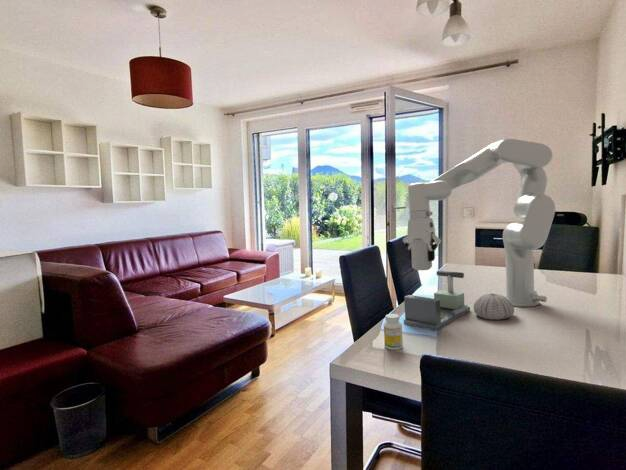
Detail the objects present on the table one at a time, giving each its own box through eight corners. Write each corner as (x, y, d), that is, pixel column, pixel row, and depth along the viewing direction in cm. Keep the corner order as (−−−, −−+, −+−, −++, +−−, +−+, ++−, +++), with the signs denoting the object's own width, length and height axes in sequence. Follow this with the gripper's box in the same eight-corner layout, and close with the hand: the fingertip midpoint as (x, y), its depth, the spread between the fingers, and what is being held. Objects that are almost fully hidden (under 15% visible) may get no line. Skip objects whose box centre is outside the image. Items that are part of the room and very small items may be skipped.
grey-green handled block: (465, 305, 139) (464, 272, 137) (458, 309, 134) (457, 275, 133) (441, 302, 146) (439, 269, 145) (433, 305, 142) (431, 272, 141)
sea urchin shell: (474, 321, 128) (473, 298, 127) (472, 309, 140) (472, 289, 140) (517, 323, 123) (516, 299, 122) (512, 311, 135) (511, 289, 135)
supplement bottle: (397, 351, 107) (396, 319, 106) (381, 348, 110) (379, 316, 110) (406, 345, 111) (404, 314, 110) (390, 342, 115) (388, 312, 114)
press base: (470, 310, 139) (469, 286, 138) (435, 330, 121) (433, 302, 120) (440, 305, 148) (439, 282, 147) (403, 323, 130) (402, 297, 129)
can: (412, 270, 141) (410, 239, 140) (411, 267, 148) (410, 237, 147) (432, 270, 139) (431, 239, 138) (431, 266, 146) (430, 237, 145)
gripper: (445, 213, 138) (447, 260, 139) (406, 214, 151) (408, 257, 152) (434, 215, 133) (437, 263, 134) (395, 216, 146) (397, 260, 147)
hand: (422, 259), depth 143 cm, fingers closed on can, 7 cm apart
